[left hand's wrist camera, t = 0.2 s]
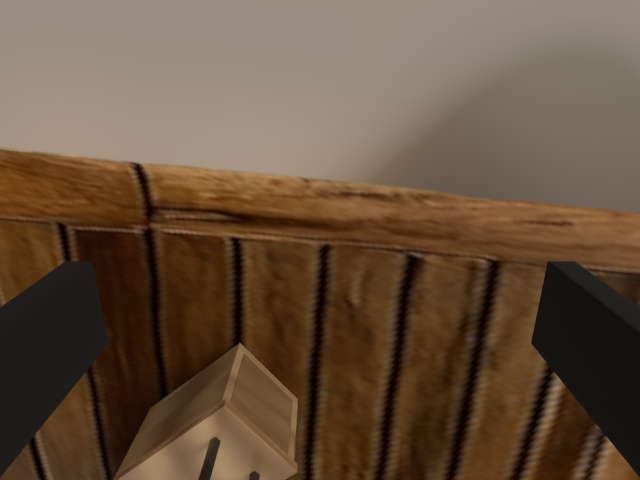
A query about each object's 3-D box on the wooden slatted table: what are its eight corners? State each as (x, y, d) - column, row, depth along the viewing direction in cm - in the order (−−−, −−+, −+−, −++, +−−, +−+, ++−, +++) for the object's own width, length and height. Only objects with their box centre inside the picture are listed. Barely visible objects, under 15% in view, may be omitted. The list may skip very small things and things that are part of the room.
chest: (240, 342, 46) (221, 401, 37) (298, 399, 48) (293, 466, 40) (150, 407, 49) (115, 475, 40) (209, 457, 51) (188, 531, 43)
